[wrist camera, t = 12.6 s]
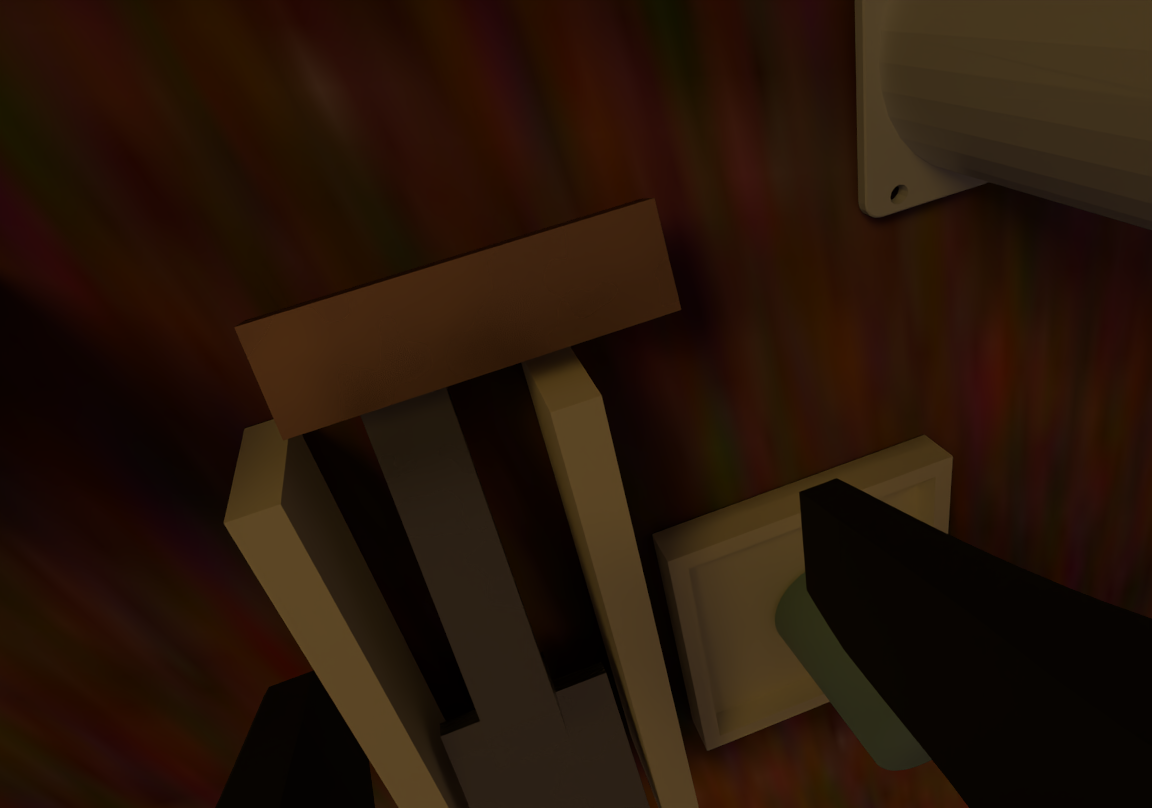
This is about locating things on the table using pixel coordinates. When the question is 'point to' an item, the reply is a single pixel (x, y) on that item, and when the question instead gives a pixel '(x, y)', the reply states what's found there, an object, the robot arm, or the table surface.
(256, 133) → the table surface
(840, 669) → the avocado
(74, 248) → the table surface
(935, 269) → the table surface
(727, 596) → the tray
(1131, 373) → the table surface
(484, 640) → the lever
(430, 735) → the beige h-shaped piece
